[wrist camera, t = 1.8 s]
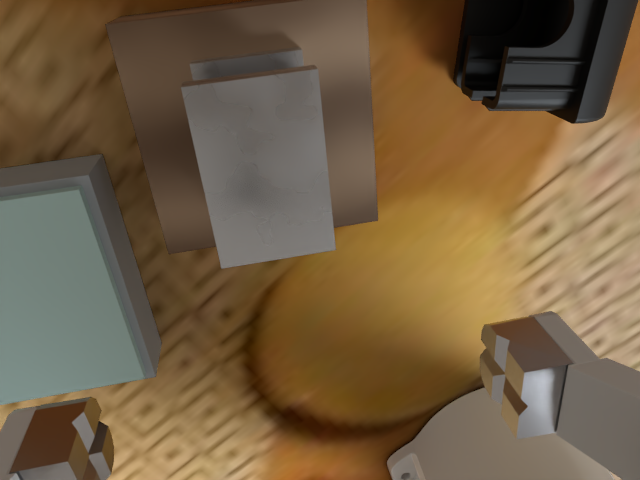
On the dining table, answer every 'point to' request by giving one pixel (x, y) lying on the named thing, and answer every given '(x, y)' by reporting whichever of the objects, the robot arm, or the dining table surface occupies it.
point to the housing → (261, 155)
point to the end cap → (543, 54)
